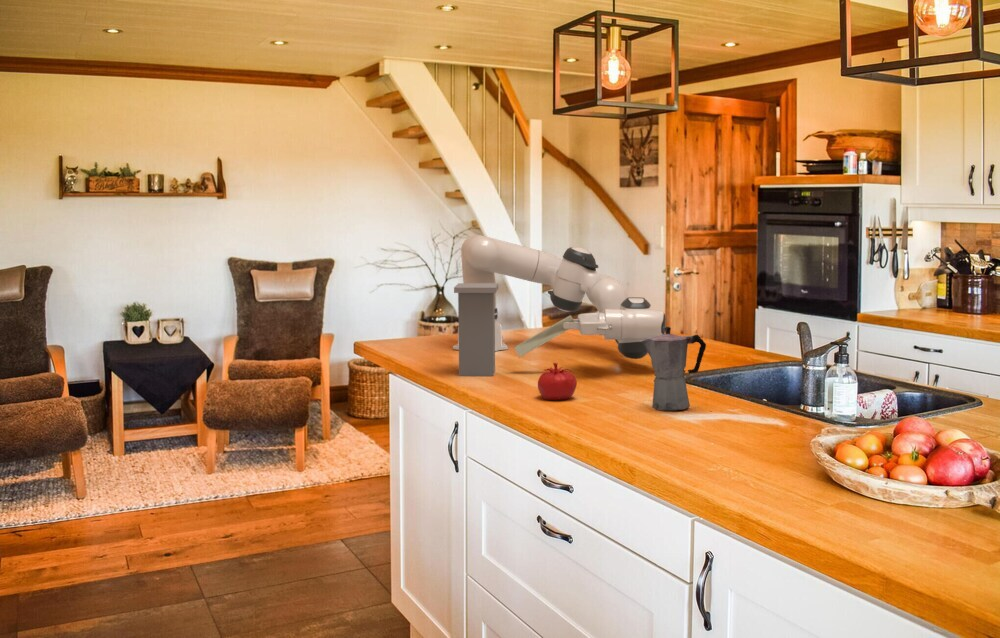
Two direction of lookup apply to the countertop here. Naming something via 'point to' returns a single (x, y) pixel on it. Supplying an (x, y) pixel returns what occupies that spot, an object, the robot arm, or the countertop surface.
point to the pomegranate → (557, 384)
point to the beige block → (542, 337)
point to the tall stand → (476, 328)
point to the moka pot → (671, 368)
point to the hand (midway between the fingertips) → (562, 324)
